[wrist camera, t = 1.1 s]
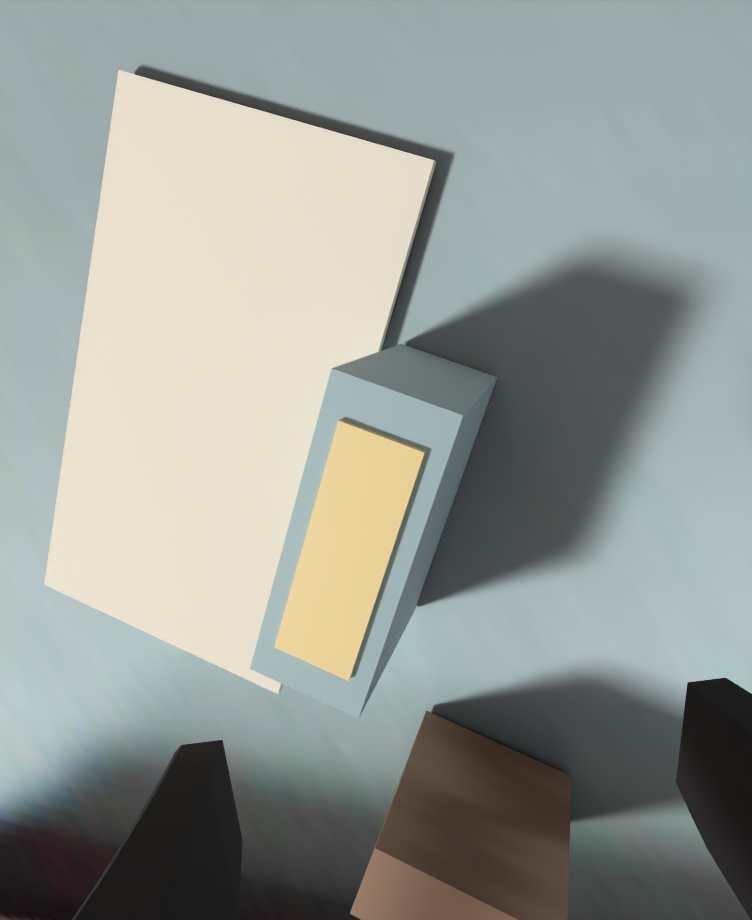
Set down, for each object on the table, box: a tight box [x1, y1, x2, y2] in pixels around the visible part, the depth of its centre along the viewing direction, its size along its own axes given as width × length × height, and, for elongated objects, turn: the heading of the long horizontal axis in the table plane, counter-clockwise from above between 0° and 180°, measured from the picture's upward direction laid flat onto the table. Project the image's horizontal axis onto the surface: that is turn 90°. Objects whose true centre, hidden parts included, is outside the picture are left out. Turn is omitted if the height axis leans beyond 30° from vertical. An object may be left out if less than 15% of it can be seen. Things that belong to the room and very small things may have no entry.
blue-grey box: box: [250, 344, 498, 719], centre depth 18 cm, size 3×8×6 cm, turn 162°
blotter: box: [44, 70, 436, 694], centre depth 22 cm, size 10×18×1 cm, turn 162°
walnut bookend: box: [350, 711, 572, 920], centre depth 20 cm, size 5×2×6 cm, turn 72°
